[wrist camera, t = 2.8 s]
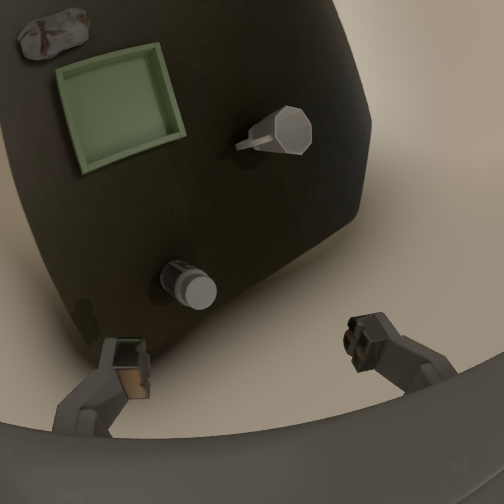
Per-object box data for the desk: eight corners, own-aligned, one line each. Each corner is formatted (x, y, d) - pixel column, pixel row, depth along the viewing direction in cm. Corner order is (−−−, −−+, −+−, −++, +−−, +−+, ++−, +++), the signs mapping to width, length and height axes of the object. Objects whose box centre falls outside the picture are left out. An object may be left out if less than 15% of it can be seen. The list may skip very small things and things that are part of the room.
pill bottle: (169, 299, 42) (193, 320, 35) (153, 271, 40) (175, 288, 33) (196, 281, 44) (225, 298, 37) (182, 252, 42) (209, 265, 35)
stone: (28, 74, 25) (26, 66, 23) (15, 33, 22) (13, 24, 20) (94, 43, 29) (97, 34, 27) (80, 5, 26) (82, -5, 24)
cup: (282, 151, 48) (318, 147, 42) (232, 172, 44) (266, 170, 38) (269, 111, 46) (304, 101, 39) (216, 127, 41) (247, 116, 35)
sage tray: (81, 175, 33) (83, 174, 30) (55, 78, 28) (55, 69, 25) (178, 139, 39) (187, 135, 36) (152, 50, 34) (159, 41, 31)
